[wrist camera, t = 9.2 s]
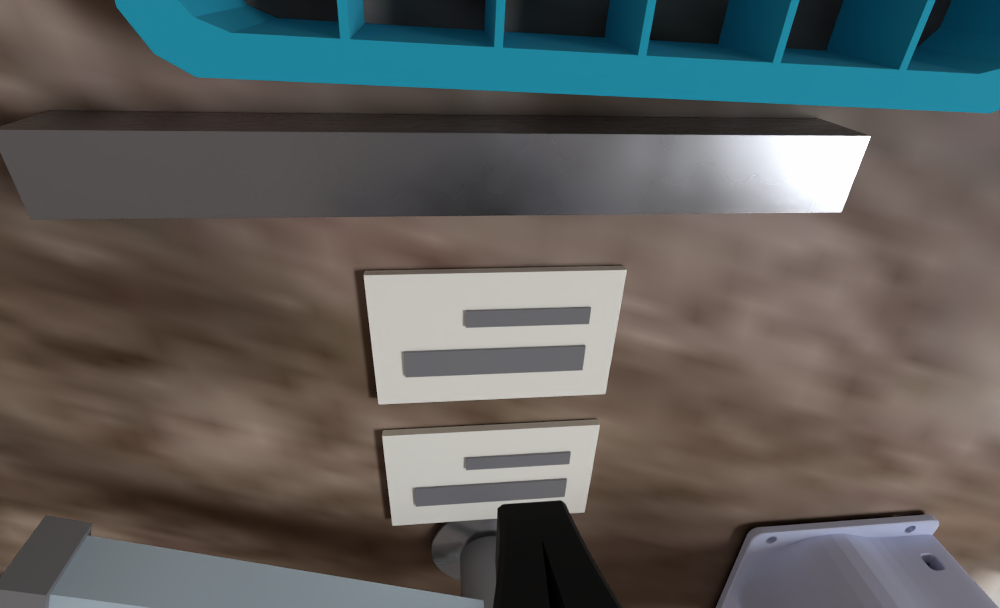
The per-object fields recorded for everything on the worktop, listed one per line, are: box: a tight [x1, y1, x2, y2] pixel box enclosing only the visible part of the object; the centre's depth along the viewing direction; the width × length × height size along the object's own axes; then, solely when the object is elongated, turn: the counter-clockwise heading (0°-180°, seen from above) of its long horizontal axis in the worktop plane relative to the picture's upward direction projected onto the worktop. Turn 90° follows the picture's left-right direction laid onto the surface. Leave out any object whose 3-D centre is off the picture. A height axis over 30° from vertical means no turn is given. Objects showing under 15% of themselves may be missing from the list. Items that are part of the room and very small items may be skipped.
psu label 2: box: [382, 419, 600, 526], centre depth 21 cm, size 8×5×1 cm, turn 88°
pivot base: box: [431, 519, 497, 580], centre depth 23 cm, size 5×5×1 cm
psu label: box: [364, 266, 627, 404], centre depth 17 cm, size 8×5×1 cm, turn 88°
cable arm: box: [0, 516, 496, 608], centre depth 19 cm, size 16×3×5 cm, turn 65°
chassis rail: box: [0, 110, 871, 220], centre depth 13 cm, size 20×2×2 cm, turn 88°
